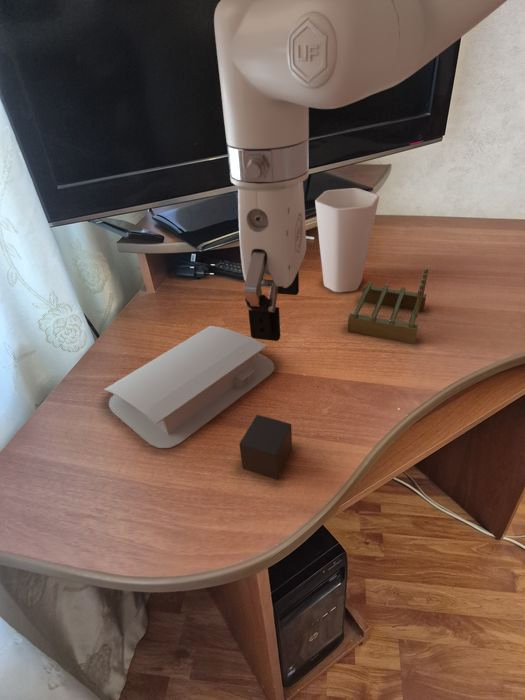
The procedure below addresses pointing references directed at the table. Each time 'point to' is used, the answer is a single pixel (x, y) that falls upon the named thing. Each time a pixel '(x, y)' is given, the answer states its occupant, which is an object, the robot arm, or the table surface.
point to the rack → (396, 300)
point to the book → (189, 385)
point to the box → (266, 446)
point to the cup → (345, 235)
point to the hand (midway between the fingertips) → (276, 314)
